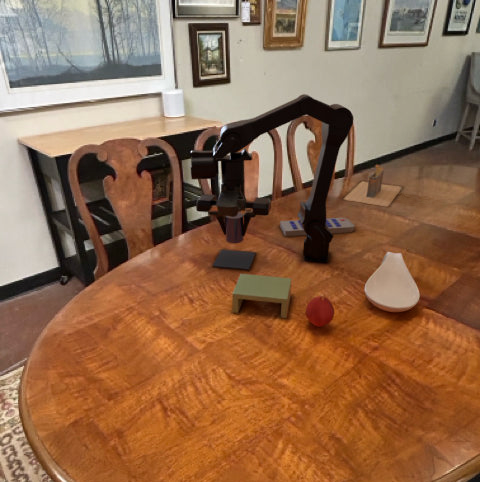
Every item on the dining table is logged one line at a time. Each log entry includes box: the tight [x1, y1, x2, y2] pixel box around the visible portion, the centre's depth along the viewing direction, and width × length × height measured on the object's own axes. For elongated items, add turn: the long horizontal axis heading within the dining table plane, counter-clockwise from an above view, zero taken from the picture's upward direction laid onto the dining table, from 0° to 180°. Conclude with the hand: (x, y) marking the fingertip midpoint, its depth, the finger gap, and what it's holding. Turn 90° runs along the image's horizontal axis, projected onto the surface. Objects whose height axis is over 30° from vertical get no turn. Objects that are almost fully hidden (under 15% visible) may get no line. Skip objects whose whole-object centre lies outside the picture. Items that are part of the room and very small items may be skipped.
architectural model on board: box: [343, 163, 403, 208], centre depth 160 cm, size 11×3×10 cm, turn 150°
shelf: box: [231, 273, 292, 319], centre depth 95 cm, size 12×9×5 cm
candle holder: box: [225, 212, 245, 244], centre depth 111 cm, size 5×5×7 cm
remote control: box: [279, 217, 356, 237], centre depth 132 cm, size 8×23×2 cm, turn 96°
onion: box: [305, 294, 335, 328], centre depth 87 cm, size 6×6×8 cm
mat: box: [212, 249, 257, 271], centre depth 115 cm, size 10×10×1 cm
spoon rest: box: [363, 251, 421, 313], centre depth 99 cm, size 24×12×7 cm, turn 163°
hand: (234, 235), depth 112 cm, fingers closed on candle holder, 5 cm apart
